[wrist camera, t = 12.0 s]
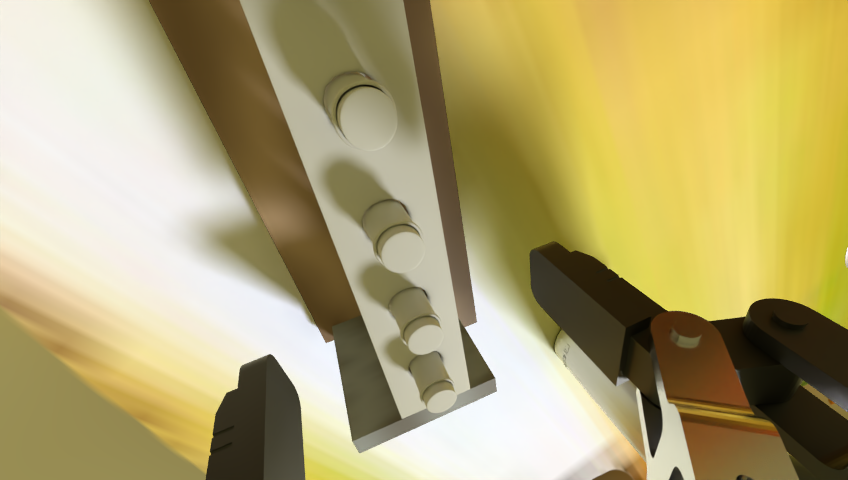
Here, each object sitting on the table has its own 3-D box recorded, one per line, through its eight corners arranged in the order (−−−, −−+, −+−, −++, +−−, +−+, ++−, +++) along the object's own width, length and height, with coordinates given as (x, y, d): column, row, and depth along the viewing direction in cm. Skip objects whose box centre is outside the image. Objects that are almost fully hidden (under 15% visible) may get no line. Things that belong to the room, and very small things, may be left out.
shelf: (352, -234, 16) (455, -573, 7) (450, 282, 34) (516, 382, 24) (54, -202, 14) (-374, -626, 5) (324, 330, 32) (343, 460, 22)
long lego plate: (414, 280, 30) (489, 423, 19) (363, 298, 29) (412, 458, 19) (308, -142, 16) (372, -457, 5) (205, -128, 15) (40, -465, 5)
